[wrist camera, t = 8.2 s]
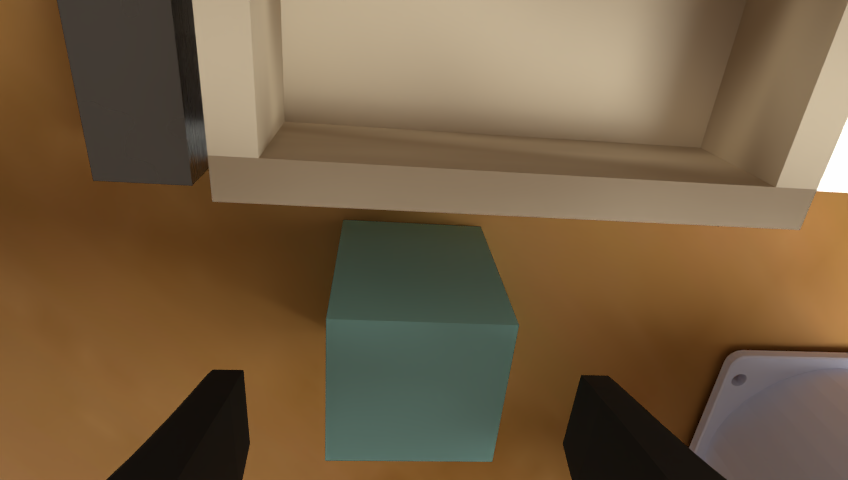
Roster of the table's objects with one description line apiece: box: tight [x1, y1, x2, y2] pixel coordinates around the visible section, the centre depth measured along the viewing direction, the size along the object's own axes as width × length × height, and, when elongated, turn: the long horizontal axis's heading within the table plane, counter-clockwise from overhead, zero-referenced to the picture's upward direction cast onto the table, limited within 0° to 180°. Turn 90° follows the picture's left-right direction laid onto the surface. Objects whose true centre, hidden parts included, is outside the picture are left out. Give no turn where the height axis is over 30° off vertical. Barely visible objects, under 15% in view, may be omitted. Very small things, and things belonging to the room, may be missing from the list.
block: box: [325, 220, 519, 462], centre depth 14 cm, size 4×4×5 cm
